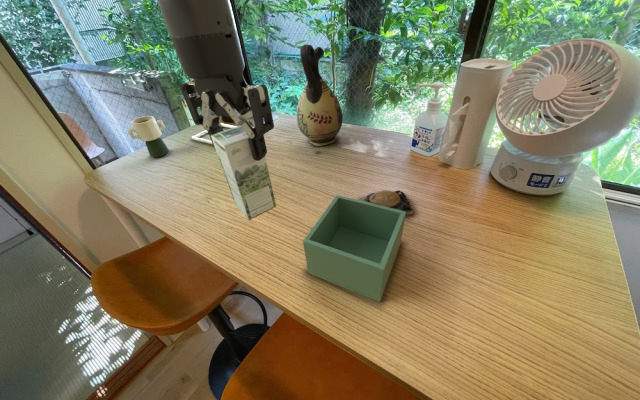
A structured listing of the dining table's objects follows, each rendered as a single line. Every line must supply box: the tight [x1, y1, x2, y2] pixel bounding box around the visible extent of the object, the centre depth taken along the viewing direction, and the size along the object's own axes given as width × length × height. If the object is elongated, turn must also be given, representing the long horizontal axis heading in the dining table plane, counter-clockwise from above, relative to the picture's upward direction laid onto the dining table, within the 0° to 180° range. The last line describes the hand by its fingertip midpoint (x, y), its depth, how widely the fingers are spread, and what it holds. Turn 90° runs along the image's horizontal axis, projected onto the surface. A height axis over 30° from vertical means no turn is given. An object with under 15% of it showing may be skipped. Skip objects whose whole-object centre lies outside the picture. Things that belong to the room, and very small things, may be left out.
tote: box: [302, 194, 407, 303], centre depth 46 cm, size 14×14×9 cm
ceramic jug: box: [296, 43, 344, 147], centre depth 80 cm, size 17×15×30 cm
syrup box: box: [210, 125, 277, 221], centre depth 42 cm, size 6×6×14 cm
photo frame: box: [191, 122, 238, 145], centre depth 100 cm, size 15×1×18 cm
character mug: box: [127, 115, 170, 158], centre depth 88 cm, size 11×7×13 cm, turn 137°
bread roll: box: [361, 189, 414, 216], centre depth 59 cm, size 11×8×4 cm
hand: (240, 153), depth 40 cm, fingers closed on syrup box, 7 cm apart
